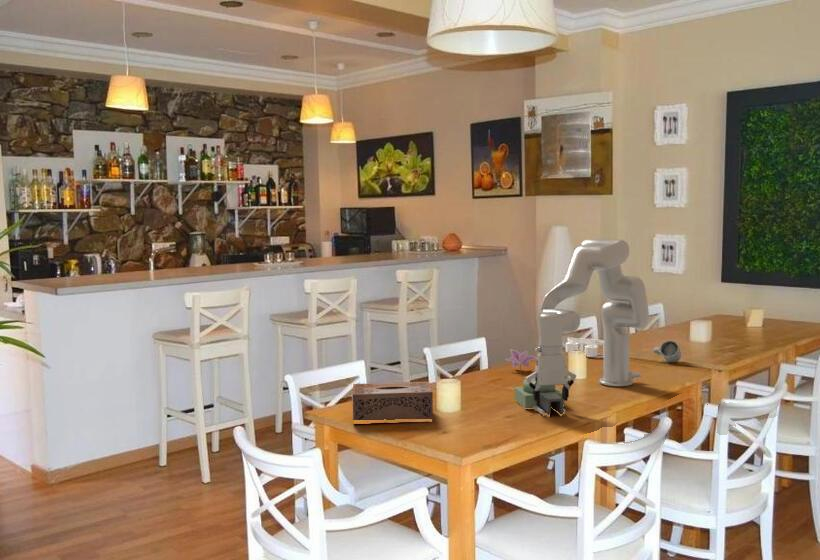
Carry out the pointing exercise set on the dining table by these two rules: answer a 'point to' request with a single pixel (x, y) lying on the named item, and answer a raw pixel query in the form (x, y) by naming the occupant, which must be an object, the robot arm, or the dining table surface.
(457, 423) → the dining table surface
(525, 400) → the mower deck
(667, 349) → the ceramic mug
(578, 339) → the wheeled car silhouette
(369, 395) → the tissue box cover
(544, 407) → the chute
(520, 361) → the lily
